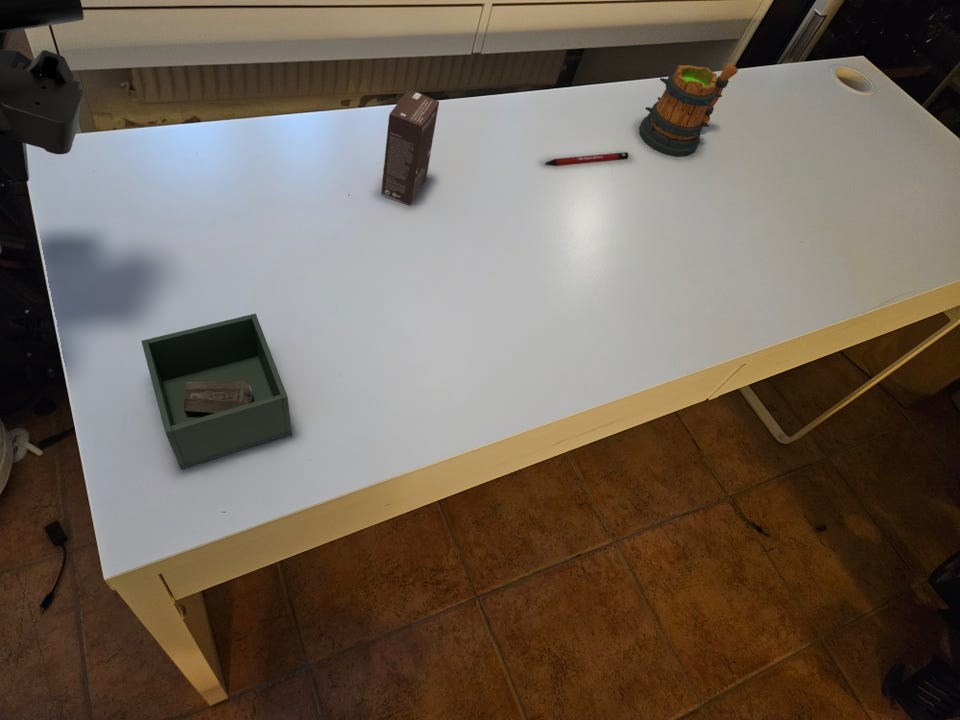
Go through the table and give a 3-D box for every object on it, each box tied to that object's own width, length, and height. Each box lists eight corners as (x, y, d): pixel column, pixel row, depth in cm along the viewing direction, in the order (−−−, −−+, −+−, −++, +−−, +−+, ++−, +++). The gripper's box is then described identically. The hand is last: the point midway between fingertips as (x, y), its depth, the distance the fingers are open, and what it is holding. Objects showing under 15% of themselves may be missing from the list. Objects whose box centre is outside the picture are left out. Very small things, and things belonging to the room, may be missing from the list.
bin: (180, 469, 59) (165, 432, 54) (157, 382, 63) (141, 340, 58) (292, 434, 63) (287, 396, 57) (262, 354, 67) (255, 313, 62)
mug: (662, 162, 99) (695, 93, 90) (624, 122, 104) (652, 53, 95) (724, 148, 105) (761, 82, 96) (685, 111, 109) (717, 44, 100)
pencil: (541, 164, 95) (543, 158, 94) (624, 156, 99) (626, 150, 98) (544, 168, 94) (545, 162, 93) (626, 160, 99) (629, 154, 98)
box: (412, 207, 84) (422, 125, 75) (380, 195, 85) (385, 112, 75) (429, 180, 88) (440, 99, 78) (398, 169, 88) (405, 87, 79)
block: (188, 389, 63) (185, 378, 61) (254, 386, 64) (252, 375, 63) (185, 421, 61) (181, 411, 59) (253, 418, 62) (251, 408, 61)
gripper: (16, 131, 41) (91, 296, 54) (77, -14, 52) (128, 152, 64) (-198, 120, 39) (-68, 296, 51) (-88, -30, 49) (-2, 146, 62)
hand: (9, 215), depth 57 cm, fingers open, 9 cm apart
